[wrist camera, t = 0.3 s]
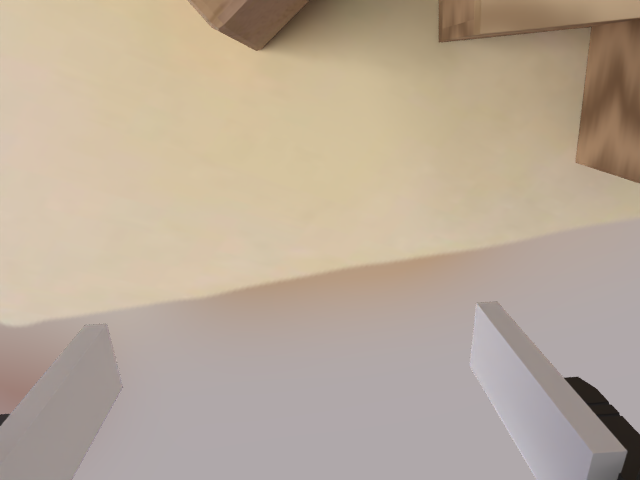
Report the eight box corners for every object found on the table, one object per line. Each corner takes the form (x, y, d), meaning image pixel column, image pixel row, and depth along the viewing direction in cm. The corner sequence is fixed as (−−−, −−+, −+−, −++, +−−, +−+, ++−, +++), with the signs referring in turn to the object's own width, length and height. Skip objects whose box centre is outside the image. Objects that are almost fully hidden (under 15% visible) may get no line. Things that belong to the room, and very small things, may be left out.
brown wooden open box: (439, -128, 34) (509, -226, 22) (687, -153, 34) (879, -262, 23) (438, 177, 42) (488, 214, 31) (636, 155, 42) (755, 185, 31)
